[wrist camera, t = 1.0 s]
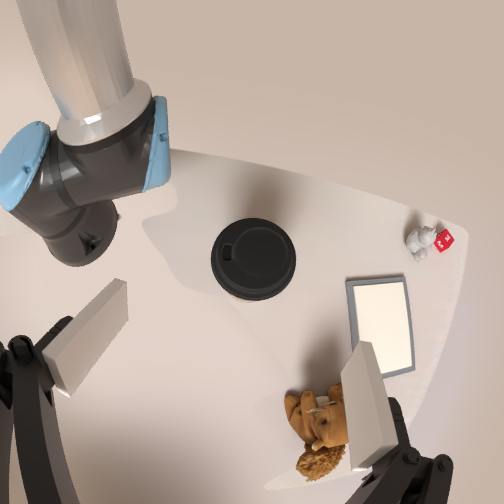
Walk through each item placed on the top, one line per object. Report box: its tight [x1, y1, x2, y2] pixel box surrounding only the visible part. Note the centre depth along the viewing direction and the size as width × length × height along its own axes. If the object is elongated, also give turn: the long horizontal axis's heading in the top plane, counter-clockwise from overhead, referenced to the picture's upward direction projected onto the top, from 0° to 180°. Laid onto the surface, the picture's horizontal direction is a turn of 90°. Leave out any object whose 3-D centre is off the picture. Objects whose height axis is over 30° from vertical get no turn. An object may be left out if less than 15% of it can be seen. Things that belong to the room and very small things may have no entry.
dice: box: [434, 229, 454, 253], centre depth 47 cm, size 3×3×3 cm
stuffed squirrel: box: [284, 382, 349, 482], centre depth 30 cm, size 10×14×13 cm
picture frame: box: [345, 277, 415, 379], centre depth 42 cm, size 17×12×1 cm
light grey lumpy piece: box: [406, 226, 437, 261], centre depth 44 cm, size 5×7×8 cm
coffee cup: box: [211, 218, 296, 303], centre depth 36 cm, size 9×9×15 cm
